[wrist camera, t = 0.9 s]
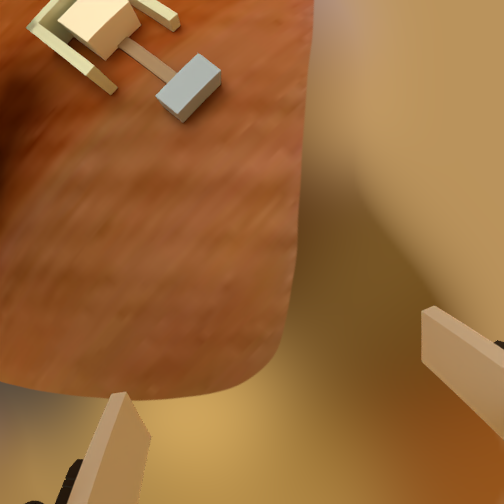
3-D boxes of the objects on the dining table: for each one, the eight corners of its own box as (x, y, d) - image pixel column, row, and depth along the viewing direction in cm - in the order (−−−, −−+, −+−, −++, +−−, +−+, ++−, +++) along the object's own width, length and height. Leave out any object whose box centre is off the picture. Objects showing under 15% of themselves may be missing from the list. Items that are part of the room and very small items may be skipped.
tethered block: (77, 39, 29) (57, 20, 23) (111, 5, 28) (96, -18, 22) (183, 123, 32) (175, 110, 26) (220, 84, 32) (220, 64, 26)
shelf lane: (54, 49, 29) (25, 27, 21) (117, -14, 28) (100, -45, 20) (110, 95, 31) (85, 75, 23) (180, 25, 30) (172, -8, 22)
